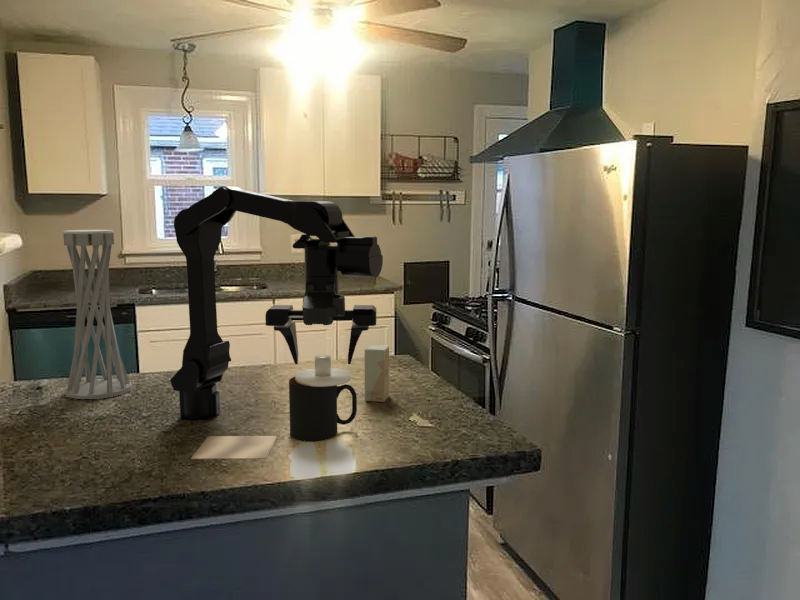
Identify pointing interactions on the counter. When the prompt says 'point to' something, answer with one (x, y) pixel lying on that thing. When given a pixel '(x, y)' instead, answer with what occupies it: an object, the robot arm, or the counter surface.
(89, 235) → the vase
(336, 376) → the lid
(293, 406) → the mug
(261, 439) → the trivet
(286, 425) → the counter surface
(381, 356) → the box
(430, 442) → the counter surface
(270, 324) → the robot arm
